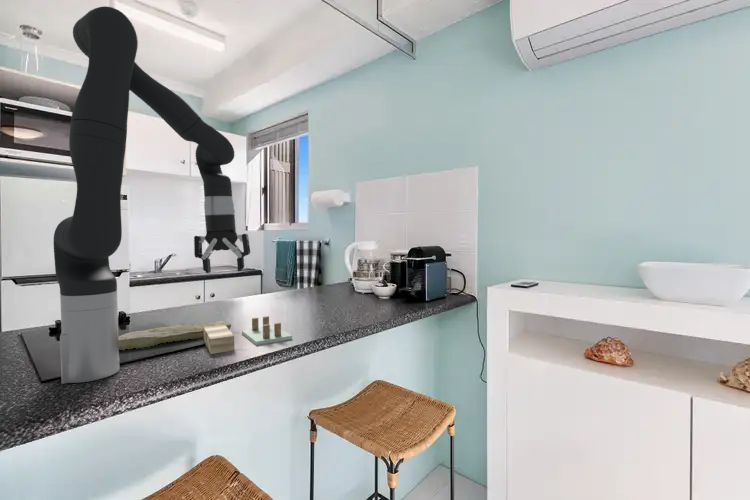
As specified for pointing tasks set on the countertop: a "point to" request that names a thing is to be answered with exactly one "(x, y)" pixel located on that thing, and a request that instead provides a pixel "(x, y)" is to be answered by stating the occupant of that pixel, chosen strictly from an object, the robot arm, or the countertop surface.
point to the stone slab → (164, 335)
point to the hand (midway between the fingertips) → (224, 271)
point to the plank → (218, 338)
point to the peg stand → (265, 332)
